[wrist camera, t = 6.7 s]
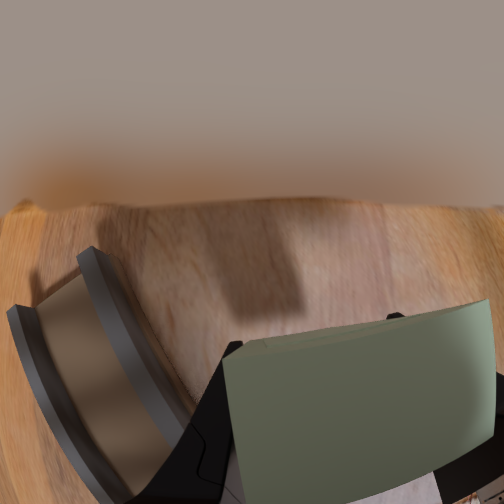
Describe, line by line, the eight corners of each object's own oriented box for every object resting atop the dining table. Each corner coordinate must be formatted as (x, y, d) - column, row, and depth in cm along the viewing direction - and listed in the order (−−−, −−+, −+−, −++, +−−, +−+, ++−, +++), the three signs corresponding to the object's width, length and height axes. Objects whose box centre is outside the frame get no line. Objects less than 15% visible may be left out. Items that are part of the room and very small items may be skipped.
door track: (247, 476, 17) (245, 502, 13) (139, 511, 15) (122, 533, 11) (118, 258, 22) (94, 243, 18) (33, 318, 20) (4, 313, 16)
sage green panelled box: (341, 376, 15) (493, 437, 3) (256, 391, 15) (249, 521, 3) (334, 326, 16) (488, 295, 4) (249, 339, 16) (221, 356, 4)
